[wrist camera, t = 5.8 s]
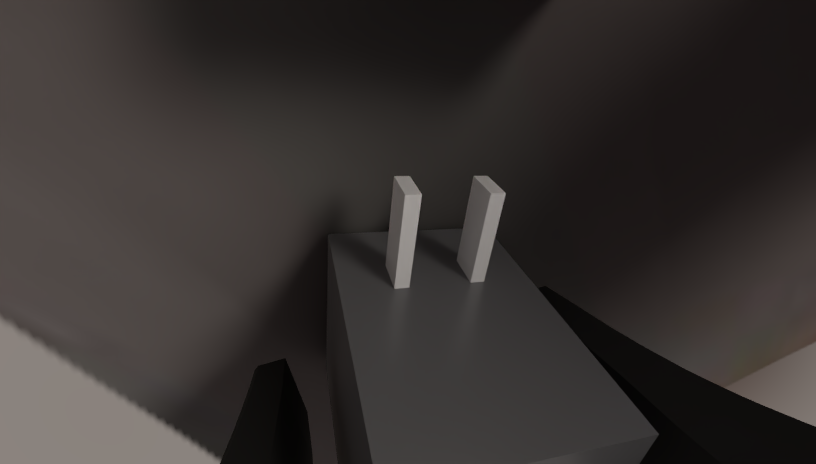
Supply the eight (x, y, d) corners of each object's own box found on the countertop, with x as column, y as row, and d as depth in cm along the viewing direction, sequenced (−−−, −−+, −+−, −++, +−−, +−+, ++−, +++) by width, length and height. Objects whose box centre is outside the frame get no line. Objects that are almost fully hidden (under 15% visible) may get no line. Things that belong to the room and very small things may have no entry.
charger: (504, 152, 10) (729, 327, 5) (457, 353, 13) (564, 577, 8) (329, 149, 8) (395, 374, 4) (326, 370, 12) (359, 642, 7)
